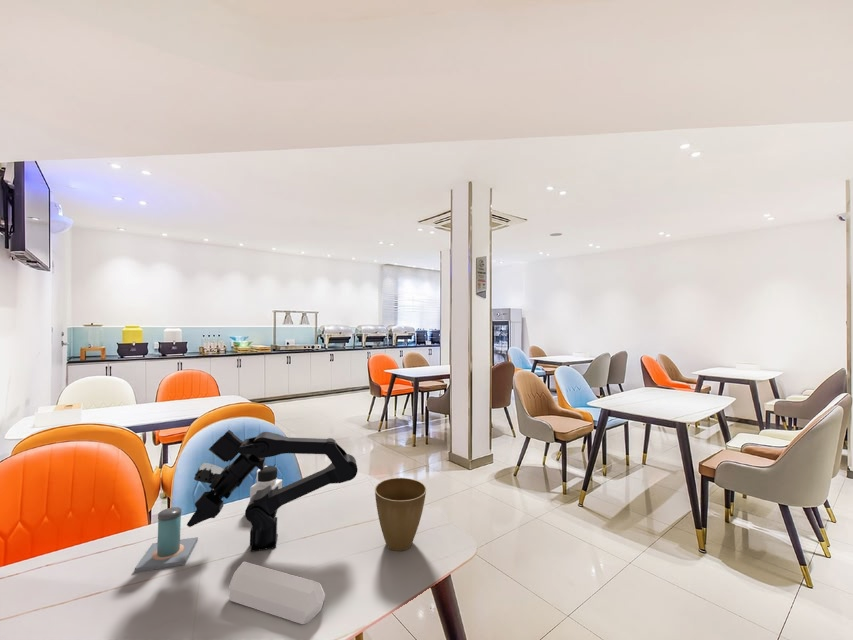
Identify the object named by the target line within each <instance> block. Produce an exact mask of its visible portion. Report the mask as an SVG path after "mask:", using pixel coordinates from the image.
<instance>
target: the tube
mask: <svg viewBox="0 0 853 640" xmlns="http://www.w3.org/2000/svg"><path fill="white" fill-rule="evenodd" d="M182 509H183V508H181V507H179V506H175V507H174V506H173V507H169V508H165V509H163V510H161V511H160V512H158V513H157V519H158V520H157V542H156V543H157V556H158V557H167V556H171V555H173V554H175V553H177V552H178V551H179V549H180V540H181V527H182V526H181V524H182V523H181V522H182V521H181V520H182Z"/></svg>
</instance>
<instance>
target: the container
mask: <svg viewBox="0 0 853 640" xmlns="http://www.w3.org/2000/svg"><path fill="white" fill-rule="evenodd" d="M270 485H271V489H272V490H274V489H280V488H283V479H279V478H278V467H277V466H274V465H265V467H264V469H263V470H260V469H259V468H257V470H256V483H254V484H253V485H251V486H250V488H249V500H250V499H251V498H252V496H253V495H254V494H256V492H257V490H262V489H264V488H266V487H268V486H270Z"/></svg>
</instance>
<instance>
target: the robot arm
mask: <svg viewBox="0 0 853 640" xmlns="http://www.w3.org/2000/svg"><path fill="white" fill-rule="evenodd" d="M208 451H210V452H211V453H212V454H213V455H215V456H216V457H217V458H218V459H220V460H221V461H222V462H223V463H225V462H226V463H228V462H231V464H229V465H226V467H224V468H222V467H220V466H218V465H215V464H213V463H208V462H203V463H202V464H201V465H200V466H199V467H198V470H197V471H196V472H195V474H194V478H193V480H194V481H197V482H201V483H204V484H209V486H208V487H209V488H210V491H204V492H203V493H202V494H201V495H200V497H199V498H198V499H197V500H196V501H195V502H194V507H195V508H196V510H195V511H194V513H193V514H192V516H191V517H190V519H189V520H188V521H187V523H186V526H187V527H189V528H191V527H193V526H195V525H197V524H200V523H202V522H204V521H206V520H209V519H215V518H216V517H217V516H218V515H219V514H220V512H221V511H222V509H223V507H224V500H222V499H223V498H225V499H226V500H228V499H229V498H230V496H231V495H232V493H233V492H234V491H235V490H236V489H237V488H239V487H240V486H241V485H242V484H243V482H244V481H245V479H246V478H247V477H248V476H249V475H250V474H251V473H252V472H253V471H254V470H255V469H256V468H257V469H260V470H263V469H264V467H265V466H266V458H272V457H276V456H279V455H284V454H295V455H296V454H297V455H298V454H299V455H300V454H301V455H325V456H326V457H327V458H328V459H329V460H330V462H331V463H330V464H328V466H327V467H325V468H323V469H321V470H318V471H317V472H314V473H312V474H310V475H307V476H305V477H304V478H301V479H299V480H297V481H295V482H292V483H289V484H287V485H284V486H282V488H280V489H274V490H272V489H271V485H270V486H268V487H266V488H264V489H262V490H257V492H256V494H254V495H253V496H252V498H251V499H250V498H249V502H248V504H247V505H246V509H245V512H244V516H245V518H246V520H247V521H249V522H250V524H251V528H250V531H249V546H250V551H251V552H257V551H262V550H264V551H265V550H269V549H275V548H277V544H278V543H277V542H278V536H279V535H278V517H277V513H278V510H279V508H281V507H282V506H283V505H286V504H287V503H290V502H292V501H295V500H297V499H299V498H301V497H304V496H306V495H308V494H310V493H312V492H314V491H317V490H319V489H321V488H323V487H325V486H328V485H331V484H343V483H345V482H346V483H347V482H349V481H351V480H353V479H355V478H356V476H357V474H358V465H357V459H356V458H355V457H354V456H353V455H352V454H350V453H347V452H346V451H345V449H343V448H342V447H341V445H339V444H338V443H337V442H336V440H335V439H334V438H330V437H328V438H313V437H289V436H288V437H287V436H284V435H281V434H279V433H275V432H269V431H262V432H260V433H258V435H257V436H253V437H249V438H245V439H244V440H241V439H240V437H238V436H236V435H235V433H234V432H233V431H231V430H230V429H229V430H228V429H227V431H226V432H225V433H224V434H223V435H222V436H220V437H219V438H218V439H217V440H216V441H215V442H214V443H212V446H210V447H209V448H208ZM238 454H239V455H238ZM237 455H238V456H237Z"/></svg>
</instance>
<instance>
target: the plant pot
mask: <svg viewBox="0 0 853 640" xmlns="http://www.w3.org/2000/svg"><path fill="white" fill-rule="evenodd" d="M426 495H427V486H426V485H425V484H424V483H422V482H421V481H419V480H416V479H414V478H408V477H394V478H393V477H392V478H387V479H384V480H382V481H380V482H378V483H377V484H376V485H375V488H374V496H375V503H376V504H375V505H376V510H377V516H378V520H379V524H380V528H381V529H380V530H381V533H382V537H383V539H384V542H385V545H386V547H387V548H388V549H390V550H391V551H396V552H402V550H403V551H406V550H408V549H409V548H411V546H412V544H413V542H414V539H415V538H416V537H415V536H416V534H417V531H418V528H419V525H420V522H421V518H422V515H423V512H424V511H423V510H424V506H425V499H426Z"/></svg>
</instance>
